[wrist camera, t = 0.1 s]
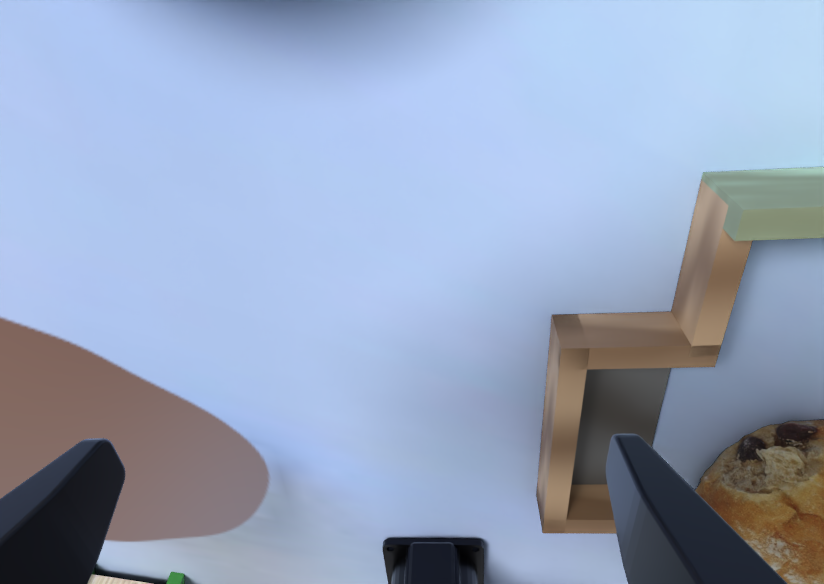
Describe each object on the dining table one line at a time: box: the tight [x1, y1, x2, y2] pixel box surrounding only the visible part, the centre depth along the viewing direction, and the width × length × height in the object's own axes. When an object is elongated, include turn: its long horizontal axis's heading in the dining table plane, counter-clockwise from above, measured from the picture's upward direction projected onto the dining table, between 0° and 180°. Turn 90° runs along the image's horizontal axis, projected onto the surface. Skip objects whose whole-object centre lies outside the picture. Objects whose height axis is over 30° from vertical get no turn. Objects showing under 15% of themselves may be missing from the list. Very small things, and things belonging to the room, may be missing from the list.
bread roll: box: [695, 420, 824, 584], centre depth 29 cm, size 10×10×8 cm
